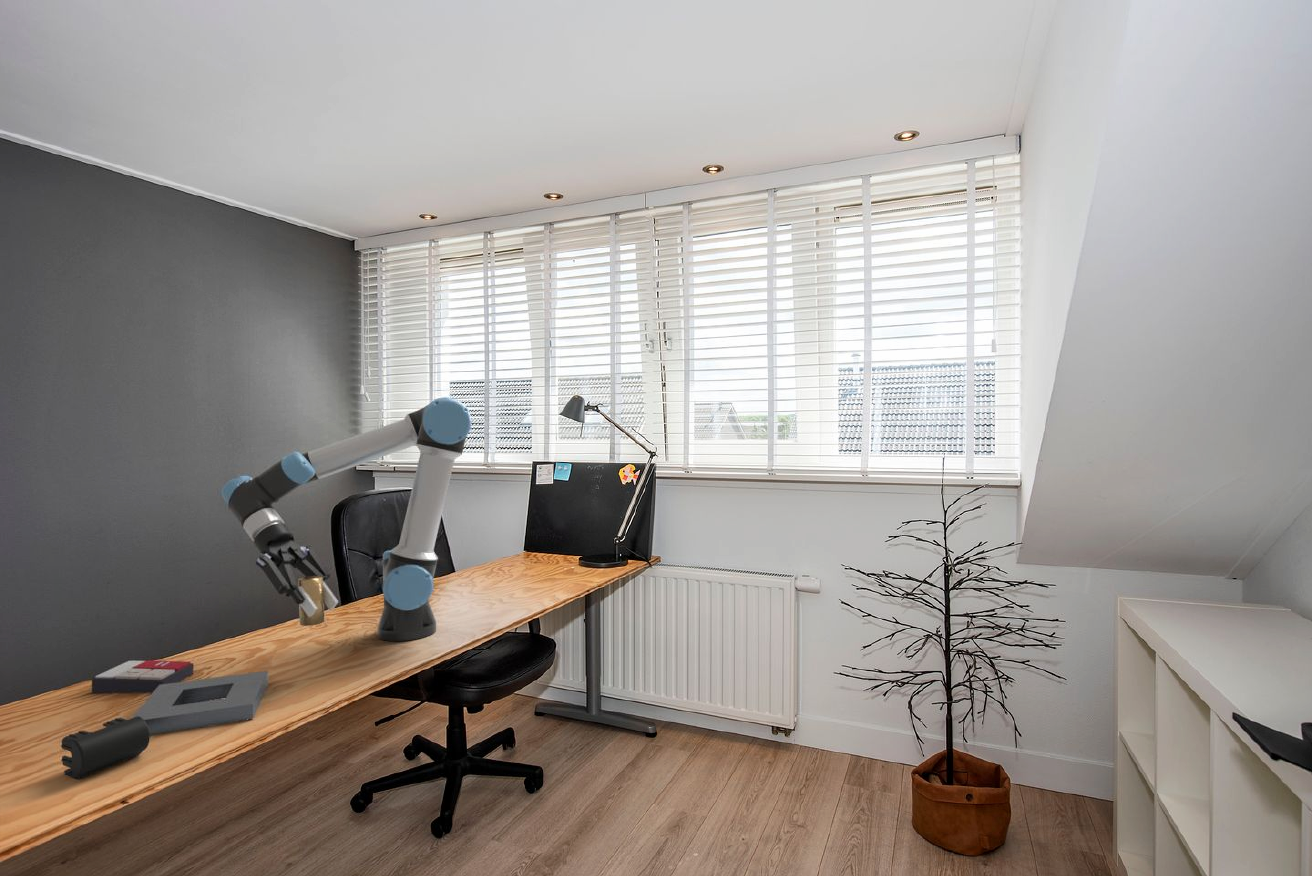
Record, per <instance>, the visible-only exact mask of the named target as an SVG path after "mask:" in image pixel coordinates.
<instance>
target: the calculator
mask: <svg viewBox="0 0 1312 876" xmlns="http://www.w3.org/2000/svg"><path fill="white" fill-rule="evenodd" d="M193 675H194V663H191V661H184V660H181V661H179V660H155V659H154V660H150V659H149V660H127V661H126V662H123V663H121V664H119V665H117V666H114V667H113V668H110V669H108V670H106V671H104V672H101V673H99V674H97V675H95V676H94V677H92V678H91V695H106V694H107V695H108V694H149V693H151V694H152V693H153V692H154V690H155V689H156V688H157V687H158V686H159V685H162V684H169V683H177V682H183V681H184V679H185V678H186V679H188V678H190V677H192V676H193ZM187 677H188V678H187ZM186 679H185V680H186ZM182 680H183V681H182ZM148 692H149V693H148Z"/></svg>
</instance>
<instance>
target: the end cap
mask: <svg viewBox="0 0 1312 876" xmlns="http://www.w3.org/2000/svg"><path fill="white" fill-rule="evenodd" d="M102 726H103V727H104V728H100V729H98V730H95V731H86V730H83V729H82V730H78V731H77V732H75V733H70V734H69V735H67V736H65V737H63V738H62V739H61V745H60V747H61V749H62V750H64V751H67V752H69V753H70V754H71V756H68V755H63V756H61V759H60V760H61V761H60V762H61V763H62V764H61V765H63V766H64V767H67V769H64V771H63V774H64V776H67V777H69V778H72V779H75V780H80V779H82V778H85V777H88V776H90V775H93V774H95V773H97V772H99V771H103V770H105V769H107V768H110V767H113V766H115V765H117V764H119V763H122V762H125V761H127V760H128V761H129V760H130V759H133V758H135V757H137V756H139V755H141V754H142V753H143V751H145V750H146V749H147V748H148V746H149V743H150V740H151V739H150V738H151V737H150V736H151V735H150V734H149V729H148V726H147V724H146V722H145V721H144V719H143V718H141V717H139V716H137V717H134V718H132V717H131V718H128V719H126V718H123V717H119V718H117V717H116V718H115V719H112V720H108V721H106V722H103V723H102Z"/></svg>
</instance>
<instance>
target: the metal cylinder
mask: <svg viewBox="0 0 1312 876" xmlns="http://www.w3.org/2000/svg"><path fill="white" fill-rule="evenodd" d="M297 585H298V586H297V588H298V587H300V586H302V587H303V588H304V590H305V591H306V592H307V594H308V595H309V597H310V598H311V600H312V601H313V602H314V604H315V605H316V607H317V608H318V609H317V610H316V611H315V613H314V614H313V615H312V616H311V617H308V615H307V614H306V612H305V611H304V610H303V608H302V607H301V605H300V604H298V610H299V611H298V614H299V625H300V626H303V627H305V626H307V627H310V626H316V625H320V624H323V623H324V622H325V620H326V619H325V603H324V592H323V576H308V577H306V576H304V577H299V578H298V579H297Z"/></svg>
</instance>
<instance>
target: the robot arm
mask: <svg viewBox="0 0 1312 876" xmlns="http://www.w3.org/2000/svg"><path fill="white" fill-rule="evenodd" d="M405 415H406V416H405V417H404V419H400V420H399V421H395V422H392V423H389V424H386V425H383V426H381V427H377V428H375V429H373V430H368V431H366V432H363V433H360V434H357V435H354V436H351V437H348V438H345V439H342V440H339V441H336V442H334V443H331V444H328V445H325V446H322V447H319V448H316V449H313V450H311V451H308V452H305V453H301V452H298V451H292V452H291V453H290V454H288V455H286V456H283V458H282V459H280V460H279V461H277V462H276V463H274V464H273V465H271V466H270V467H269V468H267V469H266V470H265V471H263V472H262V473H260V474H259V475H257V476H256V477H253V478H252V477H251V476H248V475H240V476H238V477H237V478H232V479H230V480H229V481H227V483H226V484H224V486H223V487H222V490H221V495H222V496H221V497H222V498H223V500H224V502H225V503H226V505H227V508H228V509H229V510H230V511H231V513H232V514H233V515H234V517H235V518H236V519H237V521H238V522H239V524H241V526H242V528H243V530H244V531H245V532H246V534H247V535H248V536H249V538H250V539H251V541H253V544H254V545H255V547H256V548H257V549H258V551H259V552H260V553H261V554H260V555H259V556H258V558H257V559H256V561H255V565H257V567H259V568H260V569H261V570H262V571H263V572H264V574H265V575H266V576H267V578H268V580H269V581H270V582H271V584H272V585H273V587H274V589H275V590H276V591H277V593H278V594H279V595H283V594H285V597H289V598H290V597H291V598H292V599H293V600H294V602H295V603H296V604H297V605H299V604H300V605H301V607H302V608H303V610H304V611H305V612H306V614H307V615H308V617H311V616H312V615H313V614H314V613H315V611H316V610H317V609H318V608H317V607H316V605H315V604H314V602H313V601H312V600H311V598H310V597H309V595H308V594H307V592H306V591H305V590H304V588H303V587H302V586H300V587H298V582H297V581H296V578H295V575H294V573H293V570H292V568H294V569H297V570H299V572H300V573H302V574H303V575H304V577H308V576H323V592H324V605H326V607H327V608H328V610H329V611H333V610H334V609H335V607H336V606H337V605H338V603H339V600H338V598H336V596H335V594H334V593H333V589H332V588H331V586H330V585H329V583H328V582H327V581H328V579H329V578H330V577H331V573H330V571H329V570H328V569H327V568H326V566H325V565H324V564H323V562H322V561H321V559H320V558H319V557H318V555H317V554H316V553H315V550H314V547H313V545H312V544H307V546H301V545H300V544H299V543H298V542H296V541H295V538H294V534H293V532H292V531H291V529H290V528H289V527H288V526H287V524H286V523H285V521H284V520H283V518H282V517H281V516H280V515H279V513H278V512H277V511H276V509H275V507H274V505H275V504H277V502H280V500H281V499H284V498H285V497H286V496H288V495H289V494H291V493H292V492H293V491H295V490H297V489H298V488H299V487H302V486H304V485H306V484H310V483H312V482H315V481H317V480H319V479H320V480H321V479H323V478H325V477H328V476H329V477H330V476H332V475H334V474H337V473H341V472H343V471H345V470H348V469H352V468H354V467H357V466H360V465H363V464H366V463H368V462H371V461H374V460H377V459H380V458H382V457H385V456H388V455H392V454H393V453H398V452H399V451H403V450H406V449H408V448H411V447H416V448H417V449H418V450H419V452H420V454H419V457H418V462H417V466H416V471H415V474H414V480H413V483H412V488H411V491H410V497H409V499H408V504H407V510H406V514H405V518H404V521H403V524H402V529H401V534H400V539H399V542H398V543H399V544H397V545H396V546H395V547H393V548H392V549H391V550H386V551H384V552H383V553H382V560H381V563H382V595H383V609H382V612H381V615H380V618H379V621H378V626H377V629H376V631H377V638H379V639H380V640H381V641H387V642H388V641H389V642H405V641H412V640H418V639H422V638H426V637H428V636H430V635H433V634H434V633H436V632H437V620H436V617H435V616H434V612H433V609H432V607H431V604H430V598H431V596H432V594H433V592H434V587H435V585H434V577H435V573H436V568H437V564H438V559H439V557H438V555H437V554H436V553H435V551H434V550H435V545H436V543H437V542H436V540H437V537H438V534H439V533H438V532H439V528H440V524H441V519H442V515H443V510H444V506H445V502H446V500H447V499H446V498H447V492H448V491H449V490H448V489H449V484H450V481H451V477H452V474H453V473H452V472H453V469H454V464H455V460H456V459H457V458H459V457H460V456H462V455H463V451H464V447H465V444H466V438H467V436H468V434H469V433H470V431H471V427H472V417H471V413H470V411H469V409H468V408H467V406H466V405H465V404H464V403H463V402H461V401H459V400H458V399H456V398H453V397H445V396H444V397H439V398H436V399H434V400H432V401H431V402H430V403H429V404H427V405H425V406H424V407H422V408H420V409H418V410H415V411H413V412H410V413H407V414H405ZM291 567H292V568H291Z"/></svg>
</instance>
